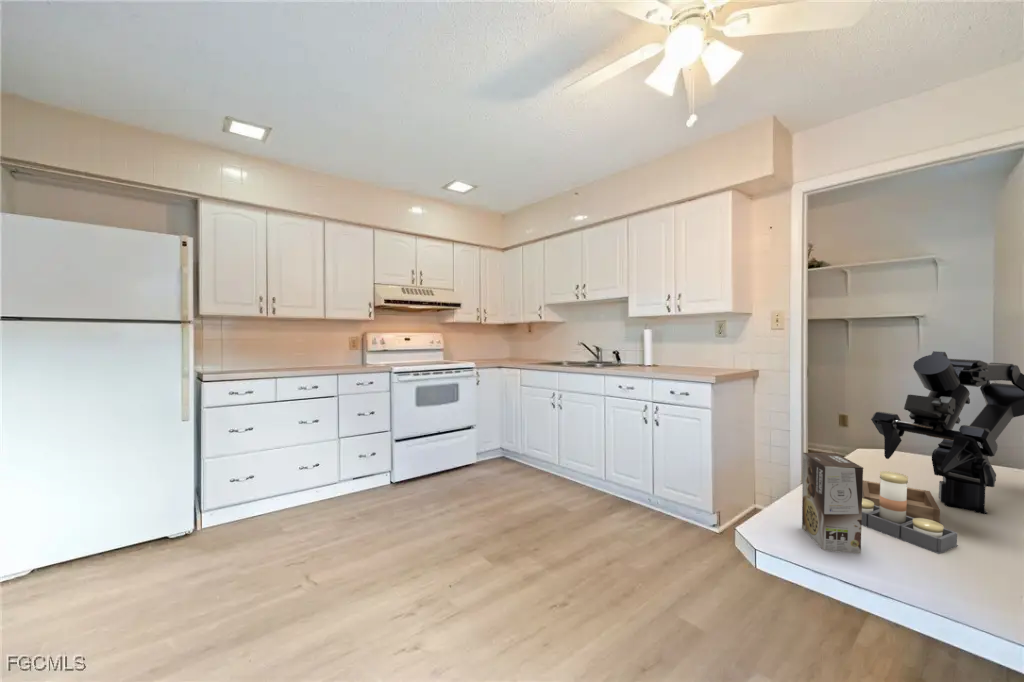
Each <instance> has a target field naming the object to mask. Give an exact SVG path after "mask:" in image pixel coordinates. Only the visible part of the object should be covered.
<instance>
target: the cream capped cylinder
mask: <svg viewBox="0 0 1024 682" xmlns="http://www.w3.org/2000/svg"><path fill="white" fill-rule="evenodd" d="M879 481H880V482H879V483H880V498H879V505H880V509H879V517H880V518H882V519H885V520H888V521H891V522H894V523H897V524H903V523H906V510H907V488H908V483H909V476H907V475H906V474H904V473H900V472H895V471H890V470H889V471H887V470H885V471H884V470H882V471H880V472H879Z"/></svg>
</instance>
